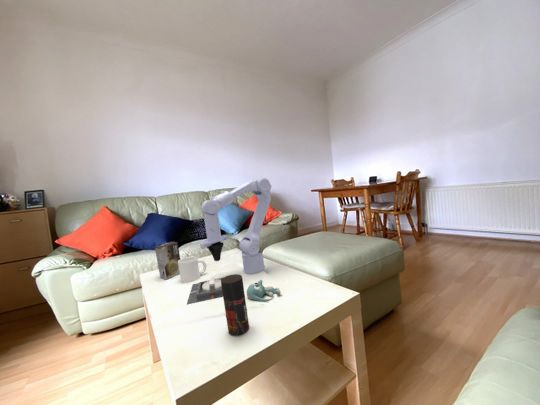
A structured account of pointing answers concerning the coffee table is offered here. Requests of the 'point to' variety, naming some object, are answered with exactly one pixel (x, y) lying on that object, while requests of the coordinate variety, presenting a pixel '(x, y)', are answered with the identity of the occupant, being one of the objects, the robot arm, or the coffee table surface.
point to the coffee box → (168, 259)
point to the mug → (190, 269)
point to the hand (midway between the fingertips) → (217, 260)
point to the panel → (203, 293)
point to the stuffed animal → (260, 291)
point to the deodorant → (235, 304)
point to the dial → (212, 285)
